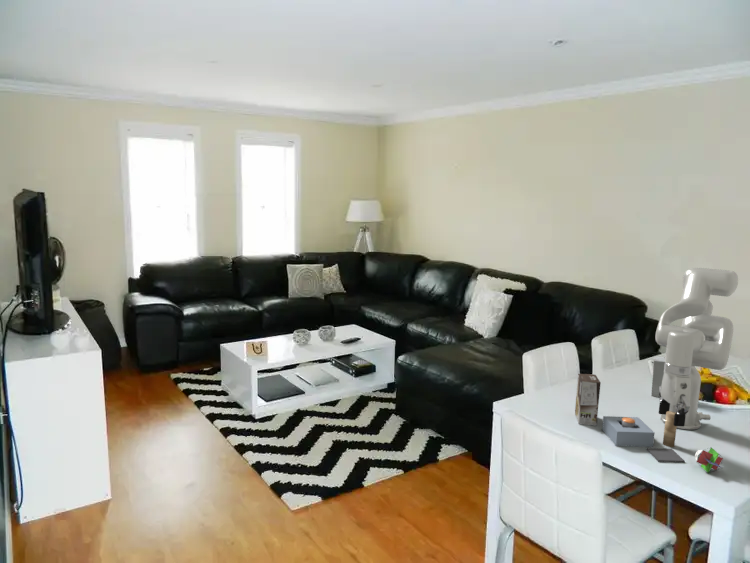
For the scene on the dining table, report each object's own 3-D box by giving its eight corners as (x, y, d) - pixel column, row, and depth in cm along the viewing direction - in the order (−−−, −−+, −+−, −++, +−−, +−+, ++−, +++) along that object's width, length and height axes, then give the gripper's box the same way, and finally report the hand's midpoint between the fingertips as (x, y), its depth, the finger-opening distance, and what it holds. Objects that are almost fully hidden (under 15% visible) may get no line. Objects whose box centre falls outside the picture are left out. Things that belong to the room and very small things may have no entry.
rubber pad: (671, 450, 176) (671, 448, 176) (684, 462, 168) (684, 460, 168) (646, 449, 176) (646, 447, 176) (658, 461, 168) (658, 460, 168)
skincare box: (674, 395, 223) (678, 358, 221) (673, 400, 218) (677, 363, 215) (651, 391, 228) (655, 354, 225) (649, 396, 222) (653, 359, 219)
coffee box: (597, 426, 193) (601, 382, 191) (578, 424, 195) (581, 381, 192) (592, 415, 202) (596, 374, 199) (574, 413, 203) (577, 372, 201)
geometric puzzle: (720, 458, 167) (706, 438, 166) (734, 469, 160) (720, 449, 159) (699, 470, 168) (686, 451, 167) (712, 482, 161) (698, 462, 160)
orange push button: (630, 428, 186) (632, 417, 185) (636, 433, 182) (637, 422, 181) (619, 427, 186) (620, 417, 185) (623, 432, 182) (625, 422, 181)
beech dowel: (671, 442, 182) (674, 411, 180) (676, 447, 178) (680, 415, 176) (660, 442, 182) (664, 411, 180) (665, 446, 178) (669, 415, 176)
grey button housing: (636, 430, 190) (638, 417, 189) (652, 446, 178) (654, 432, 177) (602, 429, 190) (603, 416, 189) (615, 445, 179) (617, 431, 178)
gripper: (704, 378, 167) (697, 431, 169) (675, 362, 184) (669, 410, 186) (679, 377, 167) (672, 430, 169) (652, 361, 184) (647, 409, 186)
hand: (671, 419), depth 178 cm, fingers open, 9 cm apart
